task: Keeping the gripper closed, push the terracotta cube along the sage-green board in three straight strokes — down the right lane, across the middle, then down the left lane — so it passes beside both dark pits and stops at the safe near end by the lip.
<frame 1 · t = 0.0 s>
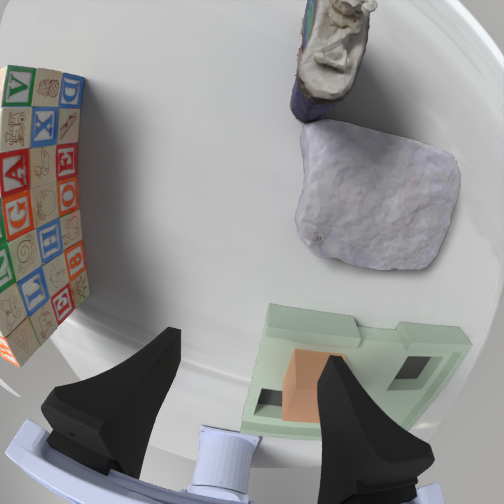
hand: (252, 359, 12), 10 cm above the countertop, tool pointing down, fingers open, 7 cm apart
stone block: (370, 197, 19), on the countertop
board: (347, 379, 26), on the countertop
stack of blocks: (59, 191, 21), on the countertop
flask: (314, 66, 16), on the countertop
block: (312, 369, 23), point 2 cm above the countertop, touching board
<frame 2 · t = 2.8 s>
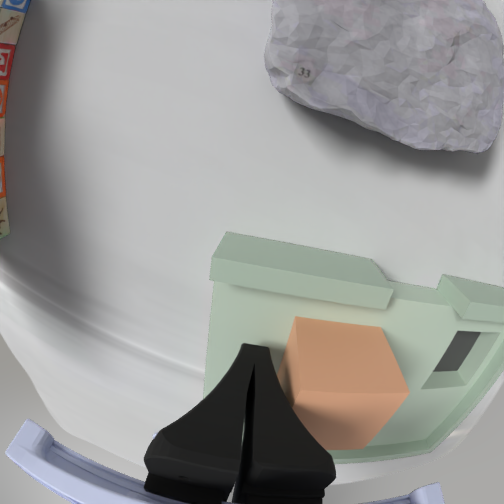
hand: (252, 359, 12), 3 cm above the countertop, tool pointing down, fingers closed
stone block: (382, 53, 10), on the countertop
board: (361, 373, 16), on the countertop
block: (326, 356, 13), point 2 cm above the countertop, touching gripper
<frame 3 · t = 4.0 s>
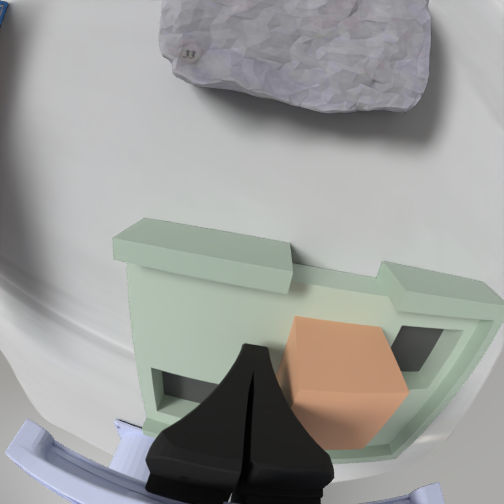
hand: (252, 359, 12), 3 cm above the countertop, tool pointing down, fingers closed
stone block: (296, 26, 10), on the countertop
board: (300, 368, 16), on the countertop
block: (326, 356, 13), point 2 cm above the countertop, touching board, gripper
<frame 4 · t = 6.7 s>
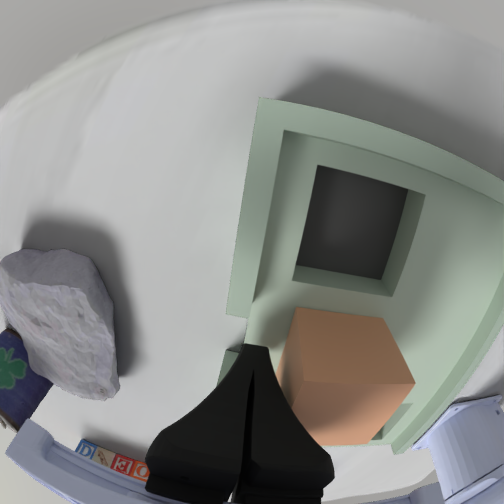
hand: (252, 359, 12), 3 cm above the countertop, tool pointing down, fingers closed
stone block: (77, 317, 18), on the countertop
board: (363, 338, 15), on the countertop
stack of blocks: (151, 469, 27), on the countertop
flask: (32, 347, 20), on the countertop
block: (328, 349, 13), point 2 cm above the countertop, touching gripper
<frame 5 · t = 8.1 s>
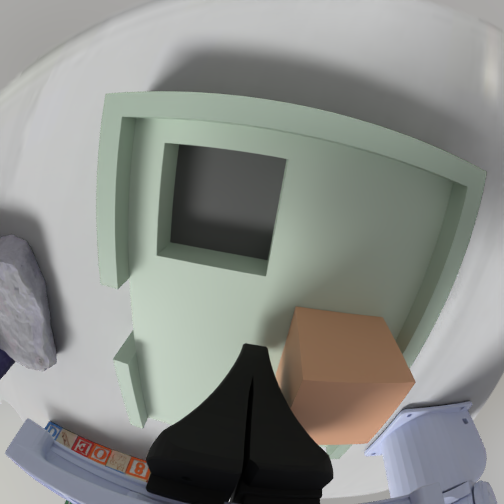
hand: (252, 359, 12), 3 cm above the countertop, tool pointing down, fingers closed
stone block: (25, 296, 18), on the countertop
board: (263, 324, 15), on the countertop
stack of blocks: (111, 453, 27), on the countertop
flask: (1, 329, 20), on the countertop
block: (328, 348, 13), point 2 cm above the countertop, touching board, gripper
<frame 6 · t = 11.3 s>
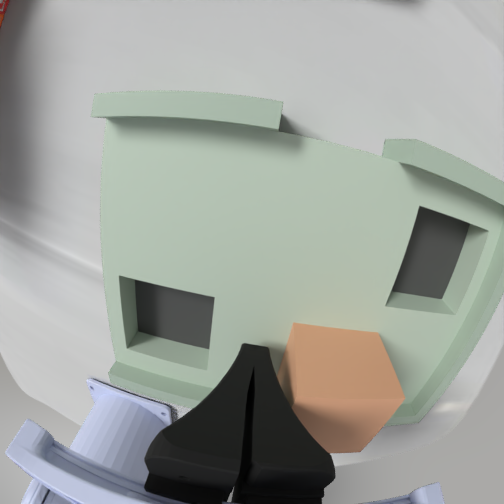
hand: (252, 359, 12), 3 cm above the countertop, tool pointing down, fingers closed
board: (300, 283, 14), on the countertop
block: (324, 361, 13), point 2 cm above the countertop, touching board, gripper
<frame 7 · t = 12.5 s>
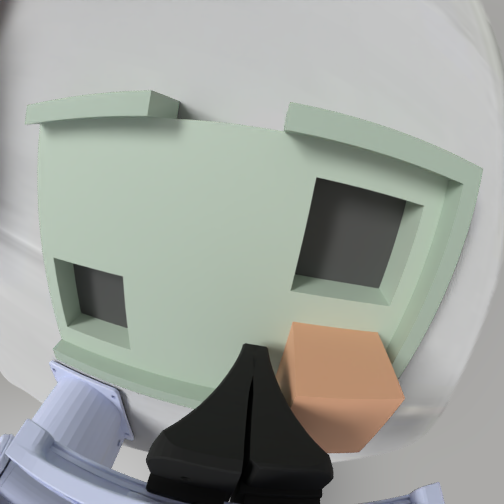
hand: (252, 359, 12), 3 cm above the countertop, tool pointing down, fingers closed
board: (209, 266, 14), on the countertop
block: (323, 360, 13), point 2 cm above the countertop, touching board, gripper
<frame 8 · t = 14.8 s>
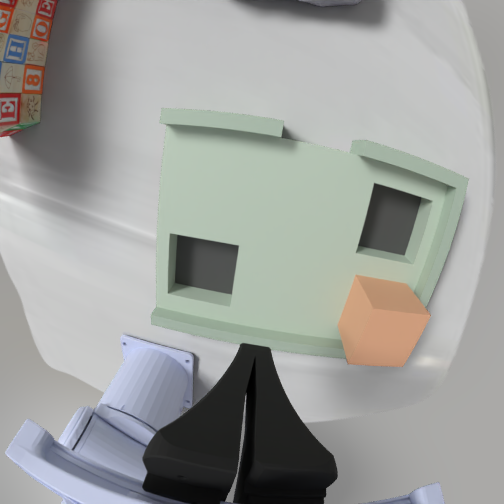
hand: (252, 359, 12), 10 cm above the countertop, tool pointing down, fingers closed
board: (297, 239, 20), on the countertop
stack of blocks: (34, 42, 15), on the countertop
block: (372, 304, 20), point 2 cm above the countertop, touching board
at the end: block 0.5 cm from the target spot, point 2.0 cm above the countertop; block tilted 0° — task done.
